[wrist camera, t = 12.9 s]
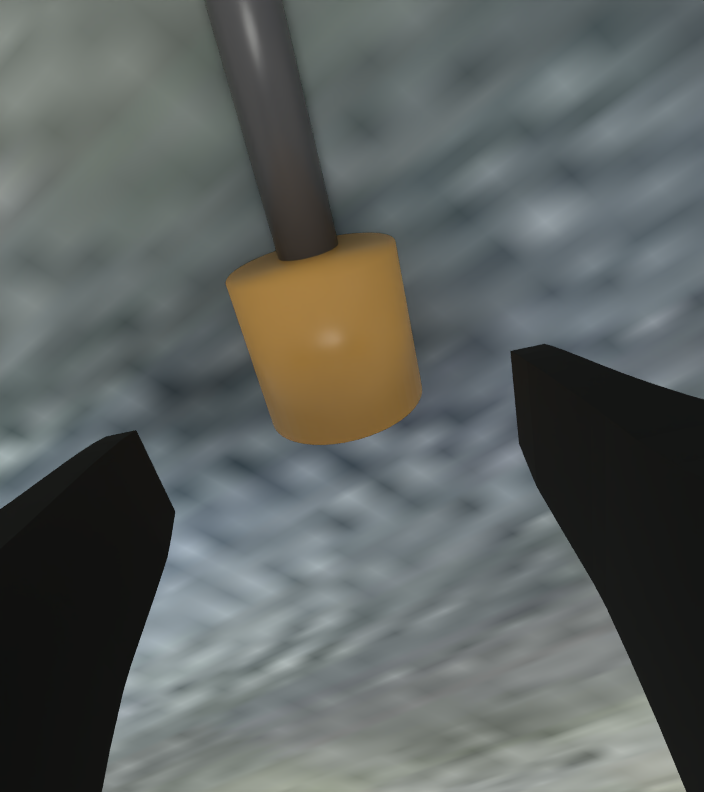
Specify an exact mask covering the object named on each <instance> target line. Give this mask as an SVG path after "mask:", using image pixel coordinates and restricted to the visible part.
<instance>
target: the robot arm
mask: <svg viewBox="0 0 704 792" xmlns="http://www.w3.org/2000/svg"><path fill="white" fill-rule="evenodd" d="M511 362H512V372H513V383H514V394H515V405H516V416H517V427H518V437H519V444H520V447H521V450H522V452H523V455H524V457H525V460H526V462H527V465H528V467H529V469H530V472H531V474H532V476H533V479H534V481H535V484H536V486H537V488H538V489H539V491H540V493H541V495H542V497H543V498H544V500H545V502H546V503H547V505H548V507H549V509H550V510H551V512H552V514H553V515H554V517H555V519H556V521H557V522H558V524H559V526H560V527H561V529H562V531H563V532H564V534H565V536H566V537H567V539H568V541H569V543H570V544H571V546H572V548H573V549H574V551H575V553H576V554H577V556H578V558H579V559H580V561H581V563H582V564H583V566H584V568H585V570H586V571H587V573H588V575H589V576H590V578H591V580H592V581H593V583H594V585H595V587H596V589H597V591H598V592H599V594H600V596H601V598H602V600H603V602H604V604H605V606H606V608H607V610H608V612H609V614H610V616H611V619H612V621H613V623H614V625H615V627H616V629H617V632H618V634H619V636H620V638H621V640H622V643H623V645H624V647H625V649H626V651H627V654H628V656H629V658H630V660H631V662H632V665H633V667H634V669H635V672H636V674H637V676H638V678H639V681H640V683H641V685H642V688H643V690H644V692H645V695H646V697H647V699H648V701H649V704H650V706H651V708H652V711H653V713H654V715H655V717H656V720H657V722H658V724H659V727H660V729H661V732H662V734H663V736H664V739H665V741H666V744H667V746H668V748H669V751H670V753H671V756H672V758H673V761H674V763H675V765H676V768H677V770H678V773H679V775H680V777H681V780H682V782H683V785H684V787H685V789H686V792H704V399H700V398H697V397H693V396H689V395H686V394H683V393H680V392H677V391H674V390H670V389H667V388H664V387H661V386H658V385H655V384H652V383H649V382H646V381H643V380H640V379H637V378H634V377H632V376H629V375H626V374H624V373H621V372H618V371H616V370H613V369H610V368H608V367H605V366H603V365H600V364H598V363H595V362H593V361H590V360H588V359H585V358H583V357H580V356H578V355H575V354H572V353H570V352H567V351H565V350H562V349H559V348H556V347H553V346H550V345H546V344H542V345H537V346H532V347H527V348H523V349H518V350H513V351H511ZM174 517H175V510H174V508H173V506H172V504H171V502H170V500H169V498H168V496H167V493H166V491H165V489H164V487H163V485H162V483H161V481H160V479H159V477H158V475H157V473H156V471H155V468H154V466H153V464H152V462H151V460H150V458H149V456H148V454H147V452H146V450H145V448H144V446H143V443H142V441H141V439H140V437H139V435H138V433H137V431H136V430H135V431H130V432H125V433H121V434H116V435H111V436H106V437H104V438H103V439H101V440H99V441H97V442H95V443H93V444H92V445H90V446H89V447H87V448H85V449H84V450H82V451H81V452H79V453H78V454H76V455H75V456H74V457H72V458H71V459H69V460H68V461H66V462H65V463H64V464H62V465H61V466H60V467H58V468H57V469H55V470H54V471H53V472H51V473H50V474H48V475H47V476H46V477H44V478H43V479H42V480H40V481H39V482H37V483H36V484H35V485H33V486H32V487H31V488H29V489H28V490H26V491H25V492H24V493H22V494H21V495H20V496H18V497H17V498H15V499H14V500H13V501H11V502H10V503H8V504H7V505H6V506H4V507H3V508H1V509H0V792H102V788H103V783H104V778H105V772H106V767H107V762H108V757H109V752H110V747H111V743H112V738H113V734H114V729H115V725H116V721H117V716H118V712H119V708H120V703H121V699H122V694H123V690H124V687H125V684H126V680H127V677H128V673H129V670H130V667H131V664H132V661H133V658H134V655H135V652H136V649H137V646H138V643H139V640H140V637H141V634H142V632H143V629H144V626H145V623H146V620H147V617H148V614H149V611H150V608H151V605H152V603H153V600H154V597H155V594H156V591H157V588H158V585H159V582H160V579H161V576H162V573H163V570H164V566H165V563H166V560H167V556H168V551H169V546H170V541H171V536H172V530H173V523H174Z"/></svg>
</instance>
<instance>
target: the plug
mask: <svg viewBox="0 0 704 792" xmlns="http://www.w3.org/2000/svg"><path fill="white" fill-rule="evenodd" d="M205 4H206V7H207V11H208V14H209V18H210V21H211V25H212V28H213V32H214V35H215V39H216V42H217V46H218V49H219V53H220V56H221V60H222V63H223V67H224V70H225V74H226V77H227V81H228V84H229V88H230V91H231V95H232V98H233V102H234V105H235V109H236V112H237V116H238V119H239V123H240V126H241V130H242V133H243V137H244V140H245V144H246V147H247V151H248V154H249V158H250V161H251V165H252V168H253V172H254V175H255V179H256V182H257V186H258V189H259V193H260V196H261V200H262V203H263V207H264V210H265V214H266V217H267V221H268V224H269V228H270V231H271V235H272V238H273V242H274V245H275V249H276V251H274V252H272V253H269V254H266V255H264V256H261V257H259V258H257V259H255V260H252V261H250V262H249V263H247V264H245V265H243V266H241V267H240V268H238V269H237V270H235V271H234V272H233V273H231V274H230V275H229V277H228V278H227V280H226V286H227V289H228V292H229V295H230V298H231V301H232V304H233V307H234V310H235V313H236V316H237V319H238V322H239V325H240V327H241V330H242V333H243V336H244V339H245V342H246V345H247V348H248V351H249V354H250V357H251V360H252V363H253V366H254V369H255V372H256V375H257V378H258V381H259V384H260V387H261V390H262V393H263V396H264V398H265V401H266V404H267V407H268V410H269V413H270V416H271V419H272V422H273V425H274V427H275V429H276V430H277V432H278V433H279V434H280V435H282V436H283V437H285V438H287V439H289V440H291V441H294V442H298V443H303V444H311V445H328V444H338V443H345V442H350V441H354V440H358V439H361V438H365V437H368V436H371V435H373V434H376V433H378V432H381V431H383V430H385V429H387V428H389V427H391V426H392V425H394V424H396V423H397V422H399V421H400V420H402V419H403V418H404V417H406V416H407V415H408V414H409V413H410V412H411V411H412V410H413V409H414V408H415V407H416V405H417V404H418V402H419V400H420V398H421V395H422V385H421V379H420V374H419V368H418V363H417V357H416V352H415V346H414V341H413V335H412V330H411V324H410V319H409V313H408V308H407V302H406V297H405V291H404V286H403V280H402V275H401V270H400V264H399V259H398V253H397V248H396V242H395V239H394V238H393V237H391V236H389V235H386V234H381V233H352V234H344V235H337V236H336V231H335V227H334V223H333V218H332V214H331V210H330V205H329V201H328V197H327V192H326V188H325V184H324V179H323V175H322V171H321V166H320V162H319V158H318V154H317V149H316V145H315V141H314V136H313V132H312V128H311V123H310V119H309V115H308V110H307V106H306V102H305V97H304V93H303V89H302V84H301V80H300V76H299V71H298V67H297V63H296V58H295V54H294V50H293V45H292V41H291V37H290V32H289V28H288V24H287V19H286V15H285V11H284V7H283V2H282V0H205Z"/></svg>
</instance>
